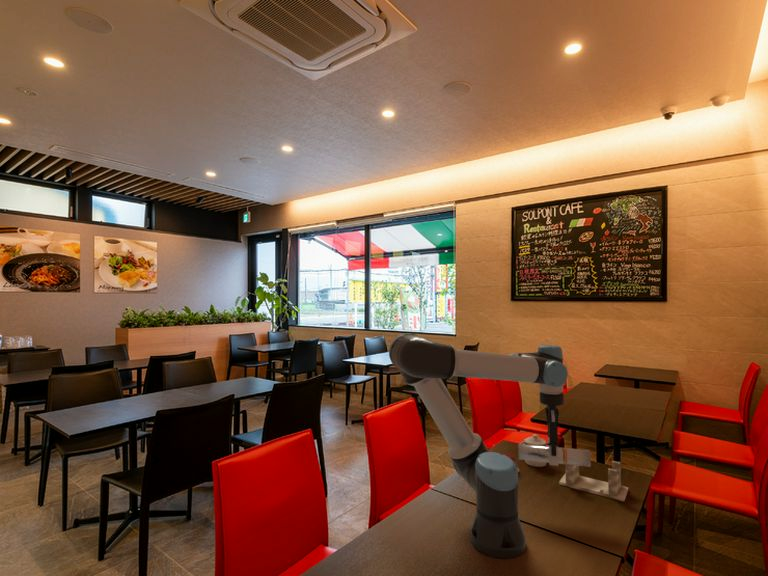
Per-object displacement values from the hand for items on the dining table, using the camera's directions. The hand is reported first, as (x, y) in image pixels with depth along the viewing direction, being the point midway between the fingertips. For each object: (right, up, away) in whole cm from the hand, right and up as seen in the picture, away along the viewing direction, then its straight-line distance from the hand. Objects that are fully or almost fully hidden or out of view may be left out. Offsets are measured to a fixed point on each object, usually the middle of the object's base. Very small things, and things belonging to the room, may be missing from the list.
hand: (553, 461), depth 136 cm
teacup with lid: (+6, -16, +36) cm, 40 cm away
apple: (-6, -16, +28) cm, 33 cm away
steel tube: (0, 0, -1) cm, 1 cm away
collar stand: (+20, -15, +13) cm, 28 cm away
